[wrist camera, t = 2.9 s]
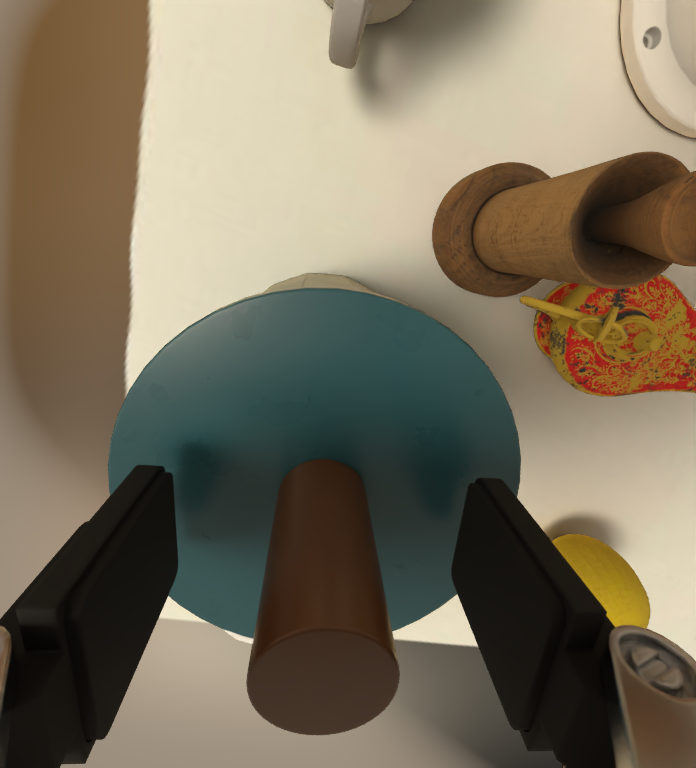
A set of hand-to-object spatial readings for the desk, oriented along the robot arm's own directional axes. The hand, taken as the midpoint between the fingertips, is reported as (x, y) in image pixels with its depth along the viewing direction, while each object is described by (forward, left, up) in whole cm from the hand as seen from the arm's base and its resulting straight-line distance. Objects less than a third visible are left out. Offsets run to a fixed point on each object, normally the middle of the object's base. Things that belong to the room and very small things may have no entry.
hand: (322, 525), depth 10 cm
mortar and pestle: (-8, +9, -15) cm, 20 cm away
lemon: (+13, +19, -15) cm, 27 cm away
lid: (0, 0, -2) cm, 2 cm away
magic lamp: (-3, +17, -15) cm, 23 cm away
